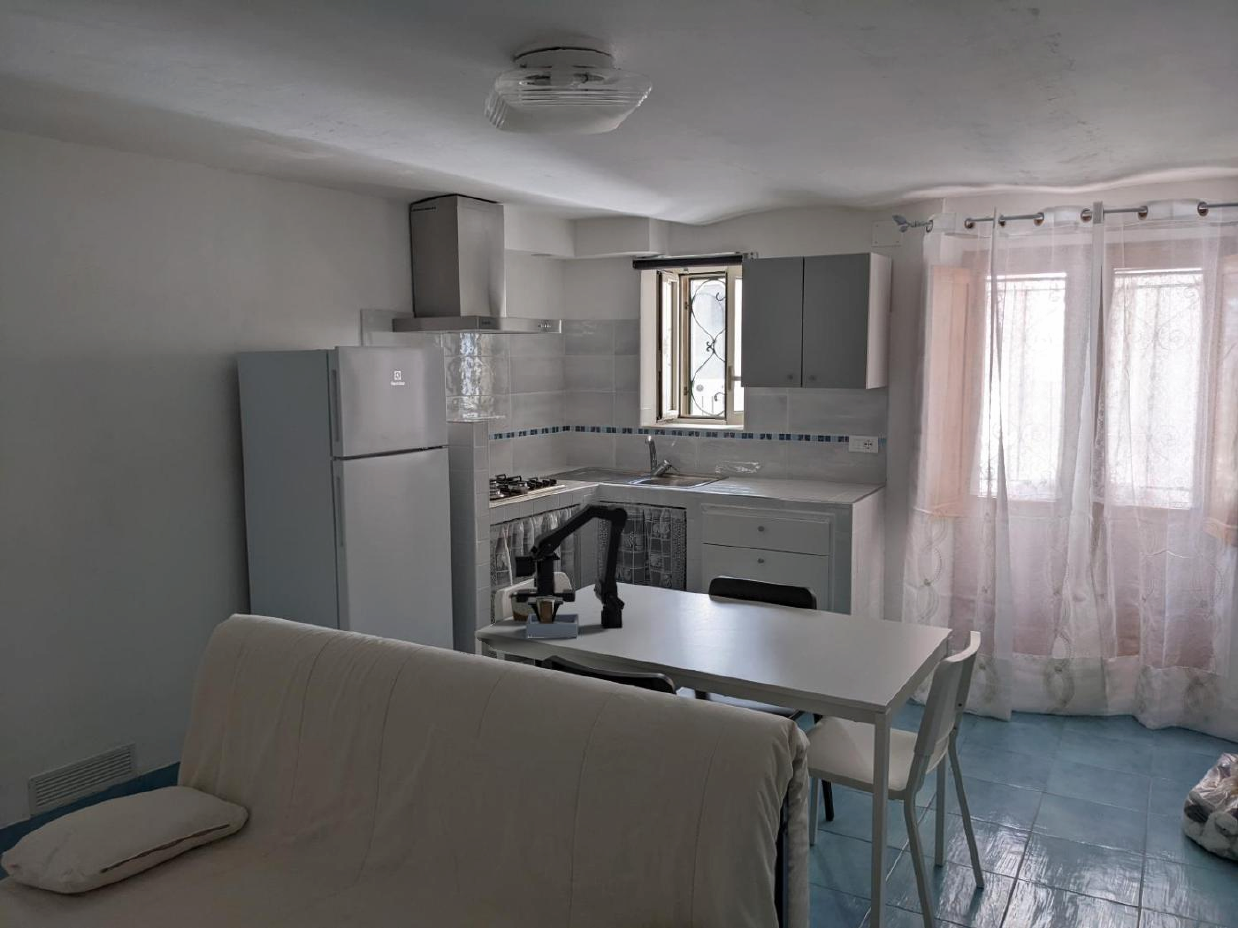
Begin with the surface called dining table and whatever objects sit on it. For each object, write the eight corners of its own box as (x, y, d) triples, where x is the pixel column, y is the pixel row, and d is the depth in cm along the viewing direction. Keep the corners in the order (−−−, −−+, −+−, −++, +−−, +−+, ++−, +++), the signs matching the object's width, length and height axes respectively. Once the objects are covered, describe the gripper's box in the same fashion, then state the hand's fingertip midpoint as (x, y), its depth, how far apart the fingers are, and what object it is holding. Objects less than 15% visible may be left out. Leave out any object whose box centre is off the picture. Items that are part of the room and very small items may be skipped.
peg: (553, 627, 306) (552, 600, 305) (552, 631, 302) (551, 604, 301) (541, 627, 306) (540, 600, 305) (539, 631, 302) (539, 604, 301)
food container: (549, 617, 321) (548, 588, 320) (545, 622, 315) (545, 593, 314) (513, 616, 322) (512, 587, 321) (509, 621, 316) (508, 592, 315)
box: (578, 627, 310) (578, 613, 309) (576, 637, 299) (576, 624, 298) (529, 627, 310) (529, 614, 309) (526, 638, 299) (525, 624, 298)
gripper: (576, 567, 310) (577, 614, 312) (518, 568, 310) (520, 614, 312) (574, 576, 299) (575, 624, 301) (514, 577, 299) (516, 625, 301)
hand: (546, 621), depth 304 cm, fingers closed on peg, 4 cm apart
